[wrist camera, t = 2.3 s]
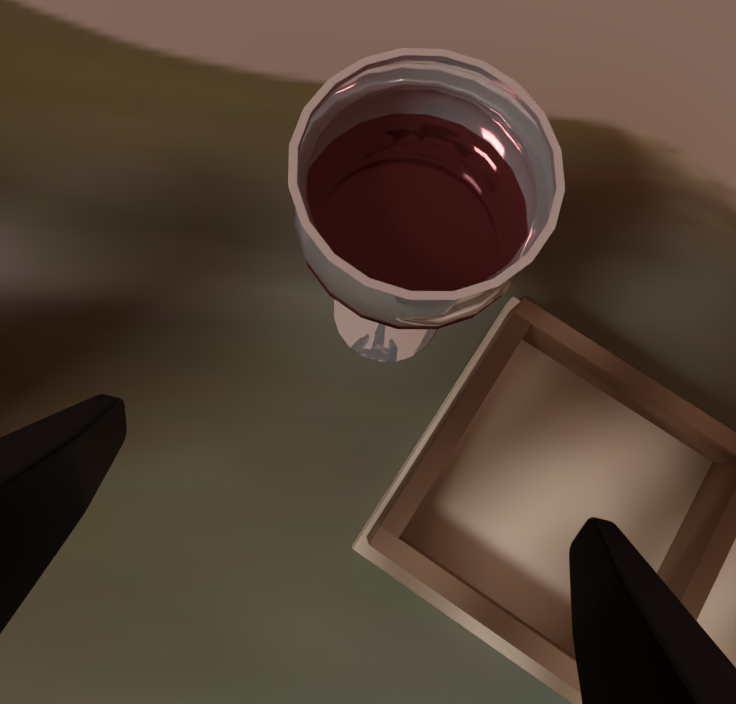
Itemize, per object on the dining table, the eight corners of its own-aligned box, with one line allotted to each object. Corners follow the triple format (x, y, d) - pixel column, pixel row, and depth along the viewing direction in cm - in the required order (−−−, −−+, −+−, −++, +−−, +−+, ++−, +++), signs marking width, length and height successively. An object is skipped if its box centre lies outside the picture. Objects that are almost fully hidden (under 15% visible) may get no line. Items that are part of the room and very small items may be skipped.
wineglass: (466, 253, 25) (576, 68, 13) (450, 392, 23) (557, 325, 12) (326, 231, 25) (310, 25, 13) (302, 369, 23) (259, 278, 11)
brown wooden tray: (909, 561, 23) (994, 577, 20) (793, 854, 20) (870, 922, 17) (506, 303, 24) (528, 281, 21) (352, 544, 22) (353, 558, 19)
